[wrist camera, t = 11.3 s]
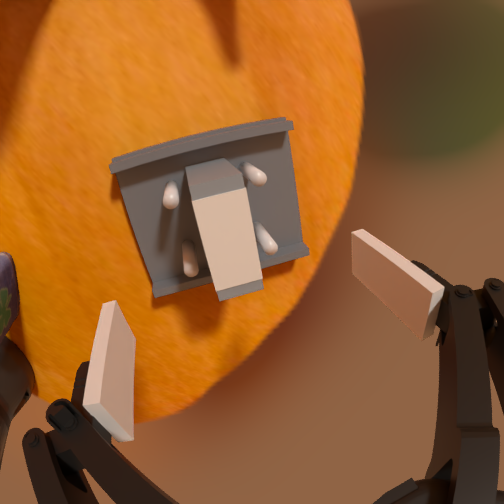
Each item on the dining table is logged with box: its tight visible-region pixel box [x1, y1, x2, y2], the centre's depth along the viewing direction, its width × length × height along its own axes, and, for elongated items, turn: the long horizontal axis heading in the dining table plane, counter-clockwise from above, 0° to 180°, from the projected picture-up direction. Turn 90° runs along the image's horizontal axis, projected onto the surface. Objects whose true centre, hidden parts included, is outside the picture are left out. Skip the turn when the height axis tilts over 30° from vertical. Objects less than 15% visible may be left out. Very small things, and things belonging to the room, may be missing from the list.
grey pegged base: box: [109, 117, 309, 298], centre depth 26 cm, size 16×14×6 cm
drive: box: [185, 158, 264, 301], centre depth 24 cm, size 4×9×8 cm, turn 11°
